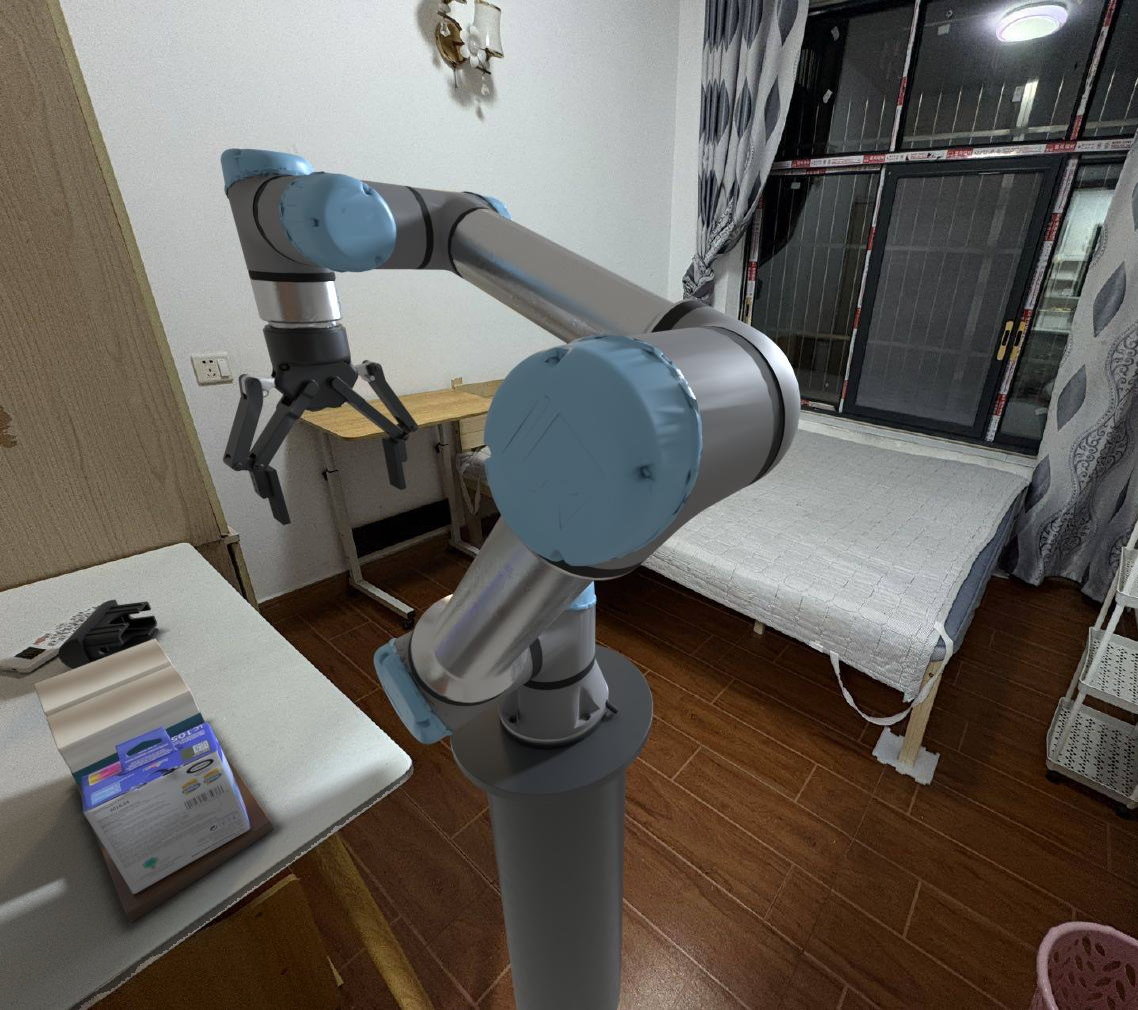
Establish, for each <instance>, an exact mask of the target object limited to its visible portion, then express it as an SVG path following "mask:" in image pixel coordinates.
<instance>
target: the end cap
mask: <svg viewBox="0 0 1138 1010" xmlns="http://www.w3.org/2000/svg"><path fill="white" fill-rule="evenodd" d="M151 610H152V607H151V604H150V603H149V601H139V602H138V601H137V602H132V603H131V602H130V603H123V604H122V603H121V604H118V602H117V599H116V598H115V599H110V600H107V601H105V602H103V603H101V604H99V606H97V608H96V609H95V610H93V612H92V613H91V614H90V615H89V616H88V617H87V618H86V619H85V620H84V621H83V622H82V623H81V625H79V626H78V627H77V628H76V629H75V630H74V631H73V632H72V633H71V635H70V636H68V638H67V639H66V640H65V641H64V642H63V643H62V644H61V645H60V647H59V649H58V651H57V652H58V653H57V654H58V658H59V660H60V661H61V663H62V664H64V666H67V667H68V668H69V669H71V670H73V669H76V668H78V667H81V666H84V665H86V664H89V663H91V662H94V661H97V660H99V659H102V658H105V657H107V656H110V655H113V654H115V653H118V652H121V651H123V650H126V649H129V648H131V647H134V646H136V645H139V644H142V643H144V642H147V641H150V640H152V639H156V637H157V636H158V634H160V630H159V628H158V621H157V618H156V616H155V615H148V616H147V615H145V616H138V617H133V616H131V615H137V614H140V613H142V612H148V611H151Z"/></svg>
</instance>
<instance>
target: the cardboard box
mask: <svg viewBox="0 0 1138 1010" xmlns="http://www.w3.org/2000/svg"><path fill="white" fill-rule="evenodd" d="M33 687H34V689H35V692H36V695H37V698H38V701H39V704H40V705H41V706H40V707H41V709H42V711H43V713H44V715H45V719H46V722H47V725H48V727H49V730H50V733H51V735H52V738H53V741H54V744H55V746H56V749H57V751H58V752H59V754H60V756H61V758H62V759H63V760H64V762H65V764H66V766H67V767H68V770H69V771H70V774H71V775H72V777H73V779H74V782H75V784H76V787H77V790H78V792H79V795H80V798H81V799H82V777H83V776H86V775H88V774H90V773H93V772H95V771H97V770H100V769H102V768H104V767H107V766H109V765H111V764H113V763H116V762H118V761H120V760H119V756H118V752H117V750H116V747H115V746H116V745H119V744H121V743H123V742H126V741H128V740H131V739H133V738H136V737H138V736H141V735H143V734H146V733H148V732H150V731H153V730H155V729H158V728H160V727H162V726H164V727H165V730H166V732H167V734H168V735H169V738H172V737H174V736H176V735H178V734H181V733H183V732H185V731H188V730H190V729H192V728H194V727H196V726H199V725H201V724H203V723H205V722H206V720H205V718H204V716H203V714H202V712H201V710H200V709H199V706H198V705H197V702H196V700H195V697H194V694H193V693H192V691H191V689H190V687H189V685H188V684H187V683H186V681H185V680H184V678H183V677H182V675H181V674H180V672H179V671H178V669H177V668H176V667H175V666H174V665H173V663H172V661H171V659H170V658H169V656H168V655H167V654H166V652H165V651H164V650H163V648H162V646H161V645H160V644H159V642H158V641H157V639H156V638H154V639H152V640H150V641H147V642H144V643H142V644H139V645H136V646H134V647H131V648H129V649H126V650H123V651H121V652H118V653H115V654H113V655H110V656H107V657H105V658H102V659H99V660H97V661H94V662H91V663H89V664H86V665H84V666H81V667H78V668H76V669H71V670H68V671H66V672H63V673H60V674H58V675H55V676H52V677H49V678H47V679H44V680H41V681H39V682H36V683H34V684H33ZM160 742H162V740H161V739H155V740H149V741H146V742H142V743H140V744H139V745H137V746H135V747H134V748H133V749H131V750H129V751H128V752H127V753H126V755H127V756H131V755H134V754H136V753H138V752H140V751H142V750H145V749H147V748H149V747H151V746H154V745H156V744H158V743H160ZM220 747H221V749H222V751H223V753H224V755H225V758H226V760H227V762H228V764H229V767H230V769H231V772H232V774H233V776H234V779H235V781H236V784H237V786H238V789H239V791H240V794H241V797H242V799H243V802H244V805H245V809H246V813H247V816H248V820H249V823H250V829H249V830H248V831H246V832H244V833H243V834H241V835H239V836H237V837H235V838H234V839H232V840H230V841H228V842H227V843H225V844H223V845H221V846H220V847H218V848H216V849H214V850H212V851H211V852H209V853H207V854H205V855H203V856H202V857H200V858H198V859H196V860H194V861H193V862H191V863H189V864H187V865H186V866H184V867H182V868H180V869H178V870H177V871H175V872H173V873H171V874H170V875H168V876H166V877H164V878H163V879H161V880H159V881H157V882H155V883H154V884H152V885H150V886H148V887H147V888H145V889H143V890H141V891H140V892H138V893H136V894H132V892H131V890H130V888H129V887H128V885H127V883H126V882H125V880H124V878H123V877H122V875H121V873H120V872H119V870H118V869H117V867H116V865H115V864H114V862H113V860H112V859H111V857H110V856H109V854H108V852H107V851H106V849H105V848H104V846H103V844H102V843H101V841H100V839H99V838H98V836H97V834H96V833H95V831H94V830H93V832H94V834H95V837H96V841H97V842H98V845H99V848H100V850H101V853H102V855H103V858H104V860H105V863H106V866H107V868H108V870H109V873H110V876H111V878H112V881H113V884H114V887H115V890H116V892H117V894H118V897H119V900H120V903H121V905H122V908H123V910H124V913H125V916H126V917H127V918H128V920H129V921H130V923H134V922H135V921H137V920H139V919H141V918H142V917H143V916H144V915H146V914H147V913H150V911H152V910H153V909H155V908H156V907H158V906H160V905H161V904H163V903H164V902H166V901H167V900H169V899H170V898H172V897H174V896H175V895H176V894H178V893H180V892H181V891H182V890H184V889H186V888H187V887H189V886H190V885H192V884H193V883H195V882H196V881H198V880H200V879H201V878H202V877H203V876H205V875H207V874H208V873H210V872H211V871H213V870H215V869H216V868H218V867H220V866H221V865H223V864H224V863H225V862H227V861H228V860H230V859H232V858H233V857H235V856H236V855H237V854H239V853H241V852H242V851H244V850H245V849H247V848H248V847H250V846H251V845H253V844H254V843H256V842H258V840H260V839H262V838H264V837H265V836H266V835H268V834H269V833H271V832H273V831H274V829H275V828H274V826H273V823H272V821H271V820H270V819H271V818H269V816H268V814H267V813H266V812H265V810H264V809H263V807H262V806H261V804H260V803H259V801H258V800H257V798H256V797H255V795H254V794H253V792H252V791H251V789H250V788H249V786H248V785H247V783H246V782H245V780H244V779H243V777H242V775H241V774H240V773H239V771H238V770H237V768H236V767H235V765H234V764H233V763H232V760H231V759H230V758H229V756H228V754H226V752H225V750H224V749H223V747H222V746H221V745H220Z"/></svg>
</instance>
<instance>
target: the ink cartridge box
mask: <svg viewBox="0 0 1138 1010" xmlns="http://www.w3.org/2000/svg"><path fill="white" fill-rule="evenodd" d="M155 739H161V740H162V742H160V743H158V744H156V745H154V746H151V747H149V748H147V749H145V750H142V751H140V752H138V753H136V754H134V755H131V756H127V755H126V753H127V752H128V751H129V750H131V749H133V748H134V747H135V746H137V745H139V744H140V743H142V742H146V741H149V740H155ZM220 746H221V745H220V743H219V741H218V738H217V736H216V735H215V732H214V731H213V729H212V726H211V725H210V724H209V723H208V721H205V723H203V724H201V725H199V726H196V727H194V728H192V729H190V730H188V731H185V732H183V733H181V734H178V735H176V736H174V737H172V738H169V735H168V734H167V732H166V730H165V727H164V726H162V727H160V728H158V729H155V730H153V731H150V732H148V733H146V734H143V735H141V736H138V737H136V738H133V739H131V740H128V741H126V742H123V743H121V744H119V745H116V746H115V747H116V750H117V752H118V756H119V760H120V761H118V762H116V763H113V764H111V765H109V766H107V767H104V768H102V769H100V770H97V771H95V772H93V773H90V774H88V775H86V776H83V777H82V798H81V800H82V813H83V815H84V817H85V819H86V820H87V822H88V823H89V825H90V827H91V828H92V830H93V832H94V831H95V832H94V834H95V833H96V834H97V836H98V838H99V839H100V841H101V843H102V844H103V846H104V848H105V849H106V851H107V852H108V854H109V856H110V857H111V859H112V860H113V862H114V864H115V865H116V867H117V869H118V870H119V872H120V873H121V875H122V877H123V878H124V880H125V882H126V883H127V885H128V887H129V888H130V890H131V892H132V894H136V893H138V892H140V891H141V890H143V889H145V888H147V887H148V886H150V885H152V884H154V883H155V882H157V881H159V880H161V879H163V878H164V877H166V876H168V875H170V874H171V873H173V872H175V871H177V870H178V869H180V868H182V867H184V866H186V865H187V864H189V863H191V862H193V861H194V860H196V859H198V858H200V857H202V856H203V855H205V854H207V853H209V852H211V851H212V850H214V849H216V848H218V847H220V846H221V845H223V844H225V843H227V842H228V841H230V840H232V839H234V838H235V837H237V836H239V835H241V834H243V833H244V832H246V831H248V830H249V829H250V823H249V820H248V816H247V813H246V809H245V805H244V802H243V799H242V797H241V794H240V791H239V789H238V786H237V784H236V781H235V779H234V776H233V774H232V772H231V769H230V767H229V764H228V762H227V760H226V758H225V755H224V753H223V751H224V750H223V751H222V749H223V748H222V746H221V747H220ZM221 748H222V749H221ZM96 834H95V835H96Z"/></svg>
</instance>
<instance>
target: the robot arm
mask: <svg viewBox="0 0 1138 1010" xmlns="http://www.w3.org/2000/svg"><path fill="white" fill-rule="evenodd" d="M220 165H221V171H222V176H223V181H224V187H223V189H224V194H225V196H226V198H227V200H228V201H229V205H230V210H231V213H232V217H233V221H234V225H235V228H236V232H237V235H238V239H239V244H240V247H241V252H242V254H243V258H244V263H245V265H246V268H247V269H246V270H247V272H248V273H247V274H248V277H249V281H250V285H251V288H252V292H253V296H254V300H255V304H256V308H257V312H258V316H259V318H260V320H262V321H264V322H267V324H265V325H264V327H263V328H262V332H263V336H264V340H265V344H266V348H267V352H268V355H269V360H270V364H271V366H272V370H271V374H270V375H257V376H255V375H250V374H248V373H242V374H240V375H239V377H238V385H239V392H240V398H239V401H238V405H237V408H236V412H235V415H234V419H233V422H232V426H231V429H230V433H229V436H228V440H227V444H226V447H225V450H224V454H223V457H222V462H223V464H225V465H226V466H227V467H229V468H230V469H231V470H233V471H235V472H241V471H247V472H248V474H249V476H250V479H251V483H252V486H253V489H254V493H255V494H256V495H257V496H259V497H260V498H261V499H262V500H266V499H267V500H268V503H269V507H270V510H271V513H272V516H273V519H275V521H277V522H278V523H280V524H281V525H282V526H286V525H291V523H292V522H291V518H290V514H289V511H288V507H287V504H286V500H285V496H284V492H283V489H282V486H281V482H280V478H279V474H278V471H277V469H276V468H274V467H273V466H272V465H270V464H271V462H272V460H273V459H274V457H275V456H276V454H277V452H278V451H279V449H280V448H281V445H283V443H284V441H285V439H286V438H287V436H288V434H290V431H292V428H293V427H294V425H295V423H296V422H297V420H299V419H301V417H302V415H303V414H304V413H305V411H309V412H310V413H315V412H320V411H323V410H324V409H327V408H328V409H336V408H337V409H338V408H342V406H343V405H344V404H348V405H349V406H350V407H352V408H353V409H355V410H356V411H357V412H358V413H360V414H361V415H362V416H364V417H365V419H368V421H370V422H371V423H373V424H374V425H375V426H376V427H378V429H380V430H381V431H383V432H384V433H385V434H387V435H388V436H384V437H381V442H382V448H383V453H384V458H385V464H386V469H387V470H386V471H387V476H388V480H389V485H390V486H392V487H394V488H395V489H398V490H400V491H402V490H406V489H407V483H406V478H405V472H404V467H403V463H406V462H407V461H408V453H407V452H408V451H407V445H406V441H408V440H409V438H410V435H409V434H410V433H415V432H417V431H418V429H419V425H418V423H417V422H416V420H415V419H414V417H413V416H412V415H411V413H410V412H409V411H408V409H407V408H406V406H405V405H404V403H402V401H401V399H400V398H399V397H398V395H397V394H396V393H395V391H394V390H393V388H392V387H391V385H389V383H388V382H387V379H386V377H385V376H386V375H385V372H384V369H383V366H382V364H380V363H379V362H376V361H373V360H369V359H363V361H362V362H361V363H359V364H356V365H355V364H353V362H352V357H351V356H352V355H351V348H350V344H349V339H348V334H347V329H346V326H344V325H343V324H342V323H340V322H339V321H341V320H342V319H343V318H344V312H343V307H342V302H341V297H340V293H339V288H338V284H337V279H336V278H337V277H336V273H341V274H342V273H348V272H349V273H364V272H369V271H372V270H417V271H418V270H419V271H426V270H427V271H447V272H448V271H449V272H450V273H453V274H454V275H456V276H458V277H459V278H461V279H463V280H464V281H466V282H468V283H469V284H471V285H473V286H475V287H476V288H477V289H479V290H480V291H482V292H484V293H486V294H487V295H489V296H490V297H492V298H493V299H495V300H497V301H498V302H500V303H501V304H503V305H504V306H506V307H508V308H509V309H511V310H513V311H514V312H516V313H517V314H519V315H520V316H522V317H524V318H525V319H527V320H528V321H530V322H531V323H533V324H535V325H537V326H538V327H540V328H542V329H543V330H545V331H546V332H547V333H549V334H551V335H552V336H554V337H556V338H557V339H559V340H560V341H562V342H563V343H564V344H560V345H555V346H551V347H547V348H544V349H542V350H539V351H537V352H535V353H533V354H531V355H529V356H527V357H526V358H524V359H523V360H522V361H520V362H518V364H517V365H515V366H514V367H513V368H512V369H511V370H510V371H509V373H508V374H507V375H506V376H505V378H504V379H503V380H502V381H501V382H500V384H499V386H498V387H497V389H496V390H495V393H494V395H493V397H492V400H491V402H490V404H489V407H488V410H487V414H486V418H485V424H484V430H483V444H484V445H485V446H486V447H487V448H488V449H489V451H490V456H489V457H487V458H485V459H484V461H483V464H484V471H485V475H486V480H487V484H488V486H489V490H490V493H491V496H492V499H493V501H494V504H495V506H496V508H497V510H498V512H499V514H500V516H499V518H498V520H497V521H496V523H495V525H494V526H493V528H492V529H491V532H490V533H489V535H488V536H487V538H486V540H485V541H484V543H483V544H482V546H481V547H480V549H479V551H478V552H477V554H476V556H475V557H474V559H473V561H472V562H471V564H470V565H469V567H468V569H467V570H466V572H465V574H464V575H463V577H462V579H461V580H460V582H459V584H458V585H457V587H456V589H455V590H454V592H453V593H452V594H449V595H447V596H445V597H443V598H441V599H439V600H438V601H436V602H434V603H433V604H432V605H431V606H430V607H429V608H428V609H426V610H425V611H424V613H422V614H421V616H420V618H419V619H418V621H417V622H416V624H415V626H414V628H413V629H412V630H410V631H409V632H407V633H405V634H403V635H401V636H399V637H397V638H395V637H393V638H391V639H390V640H389V641H388V642H387V643H385V644H384V645H382V646H380V647H379V648H377V650H375V653H374V654H373V665H374V669H375V672H376V675H377V677H378V679H379V682H380V685H381V686H382V689H383V691H384V693H385V695H386V697H387V698H388V700H389V702H390V703H391V705H392V707H393V709H394V711H395V712H396V714H397V716H398V717H399V720H401V722H402V724H403V725H404V726H405V727H406V729H407V730H408V731H409V733H410V734H411V735H412V736H413V738H415V739H416V740H417V741H418V742H419V743H421V744H424V745H432V744H435V743H437V742H439V741H441V740H443V739H444V738H445V737H447V736H449V737H450V735H452V734H453V733H454V731H455V730H456V729H458V728H459V727H461V726H462V725H464V724H465V723H467V722H468V721H470V720H471V719H473V718H474V717H476V716H477V715H479V714H480V713H481V712H483V711H484V710H486V709H487V708H489V707H490V706H492V705H493V704H495V703H496V702H498V712H499V720H500V723H501V726H502V728H503V730H504V731H505V733H506V734H507V735H508V736H509V737H510V738H511V739H512V740H514V741H515V742H517V743H519V744H521V745H524V746H526V747H530V748H535V749H557V748H563V747H567V746H570V745H573V744H575V743H577V742H579V741H581V740H583V739H585V738H586V737H588V736H589V735H591V734H592V733H593V732H594V731H595V730H596V729H597V728H598V727H599V726H600V724H601V723H602V722H603V720H604V718H605V716H606V713H607V710H608V709H609V710H610V711H612V712H613V713H614V714H616V713H617V712H618V711H619V709H618V708H617V707H616V706H614V705H613V704H612V703H610V702H609V701H608V687H607V684H606V681H605V679H604V677H603V675H602V672H601V670H600V668H599V666H598V663H597V661H596V659H595V644H596V604H597V596H596V594H595V582H594V581H608V580H613V579H617V578H621V577H623V576H625V575H627V574H630V573H632V572H633V571H635V570H636V569H637V568H639V567H640V566H642V564H643V563H644V562H645V561H646V560H647V559H649V557H651V556H652V555H653V554H654V553H655V552H656V551H657V550H658V549H659V548H661V546H663V545H665V543H666V542H667V541H668V540H669V539H670V538H671V537H672V536H673V535H674V534H675V533H677V532H678V531H679V530H680V529H681V528H682V527H683V526H684V525H686V524H687V523H689V521H691V520H692V519H694V518H695V517H696V516H698V515H699V514H700V513H702V512H704V511H705V510H707V509H708V508H710V507H712V506H714V505H717V504H718V503H719V502H721V501H724V500H725V499H726V498H728V497H730V496H732V495H734V494H736V493H737V492H739V491H741V490H743V489H745V488H747V487H749V486H751V485H754V484H755V483H757V482H758V481H760V480H761V479H763V478H764V477H766V476H767V475H768V474H770V472H772V471H773V470H774V469H775V468H776V467H777V466H778V465H779V464H780V463H781V461H782V460H783V458H785V455H786V454H787V452H788V451H789V449H790V448H791V447H792V444H793V441H794V439H795V436H796V435H797V434H796V433H797V431H798V428H799V421H800V415H801V407H802V405H801V393H800V387H799V382H798V380H797V376H796V374H795V372H794V371H795V370H794V369H793V367H792V365H791V363H790V362H789V360H788V357H787V356H786V354H785V353H784V352H783V350H781V348H780V347H779V346H778V345H777V343H775V342H774V341H773V340H772V339H771V338H769V337H768V336H767V335H766V334H764V333H763V332H761V331H760V330H758V329H756V328H754V327H753V326H751V325H749V324H747V323H746V322H743V321H741V320H739V319H737V318H735V317H733V316H731V315H729V314H727V313H724V312H722V311H720V310H718V309H716V308H714V307H712V306H710V305H708V304H707V303H705V302H702V301H701V300H697V299H695V298H685V299H681V300H678V301H676V302H673V301H671V300H668V299H667V298H665V297H663V296H661V295H660V294H657V293H656V292H653V291H651V290H649V289H647V288H645V287H643V286H641V285H640V284H637V283H636V282H634V281H632V280H630V279H628V278H626V277H624V276H622V275H620V274H618V273H616V272H614V271H612V270H610V269H608V268H606V267H605V266H602V265H600V264H599V263H597V262H594V261H592V260H591V259H588V258H587V257H585V256H584V255H583V256H582V255H581V254H579V253H577V252H575V251H573V250H571V249H569V248H567V247H566V246H563V245H561V244H559V243H557V242H555V241H553V240H552V239H550V238H548V237H545V236H544V235H542V234H540V233H537V232H535V231H534V230H532V229H530V228H528V227H526V226H524V225H522V224H520V223H519V222H516V221H515V220H514V218H513V216H512V214H511V213H510V212H509V211H508V210H507V206H506V205H505V204H504V202H502V201H500V200H499V199H498V198H495V197H493V196H489V195H482V194H480V193H476V192H474V191H468V190H464V191H455V190H445V189H436V188H426V187H416V186H410V185H403V184H395V183H387V182H379V181H372V180H364V179H358V178H356V177H353V176H350V175H347V174H343V173H331V172H326V171H324V170H323V171H315V169H314V167H313V166H312V164H311V163H310V161H308V159H306V158H305V157H303V156H301V155H296V154H293V153H287V152H282V151H281V152H280V151H273V150H266V149H258V148H257V149H256V148H255V149H254V148H235V147H233V148H227V149H225V150H224V151H223V152H222V153H221V155H220ZM359 377H360V379H362V380H363V381H364V382H367V383H368V385H369V387H370V388H371V390H373V392H374V393H375V395H376V396H377V397H378V399H379V400H380V401H381V403H382V404H383V405H384V407H385V408H386V409H387V411H388V412H389V413H390V415H391V416H392V418H393V419H394V420H395V421H396V422H397V424H395V422H393V421H392V420H390V419H389V418H388V417H387V416H386V415H384V414H383V413H382V412H381V411H379V410H378V409H377V408H375V407H374V406H373V405H372V404H371V403H369V402H368V401H367V400H366V399H365V398H364V397H363V396H362V395H360V394H359V393H358V392H357V391H355V390H354V387H355V385H356V383H357V380H359ZM272 388H274V389H275V390H277V391H278V392H279V393H281V394H282V395H281V397H280V399H279V400H278V402H277V404H276V405H275V411H274V412H273V414H272V416H271V417H270V419H269V420H268V422H267V423H266V425H265V427H264V429H263V430H262V431H261V433H260V435H259V437H258V438H257V439H256V441H255V443H254V444H253V441H254V437H255V435H256V431H257V427H258V424H259V420H260V417H261V415H262V410H263V406H264V399H265V398H267V397H268V396H269V394H270V391H271V389H272ZM252 445H253V446H252Z"/></svg>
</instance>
